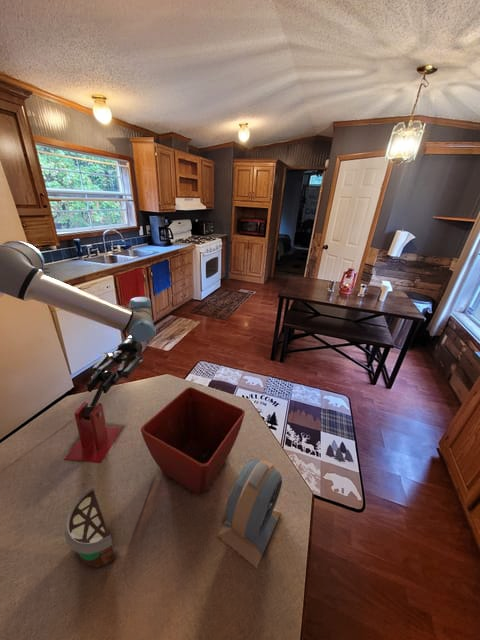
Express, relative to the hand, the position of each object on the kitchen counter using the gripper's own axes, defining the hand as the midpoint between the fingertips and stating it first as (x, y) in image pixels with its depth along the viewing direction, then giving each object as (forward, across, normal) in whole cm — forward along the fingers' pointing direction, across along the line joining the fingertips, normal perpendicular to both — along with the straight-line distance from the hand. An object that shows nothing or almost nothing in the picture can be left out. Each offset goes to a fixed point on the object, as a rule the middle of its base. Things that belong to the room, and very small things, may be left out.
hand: (96, 388), depth 71 cm
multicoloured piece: (+28, -13, -17) cm, 35 cm away
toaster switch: (+5, 0, -17) cm, 17 cm away
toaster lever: (-1, 0, -4) cm, 4 cm away
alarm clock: (+21, -45, -17) cm, 53 cm away
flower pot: (+8, -30, -17) cm, 35 cm away
